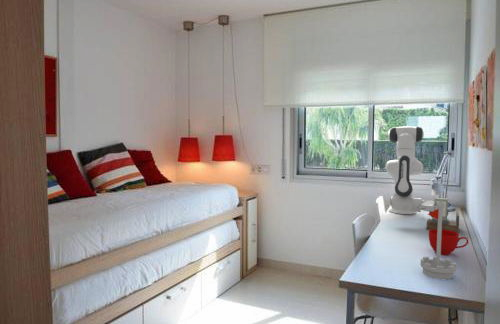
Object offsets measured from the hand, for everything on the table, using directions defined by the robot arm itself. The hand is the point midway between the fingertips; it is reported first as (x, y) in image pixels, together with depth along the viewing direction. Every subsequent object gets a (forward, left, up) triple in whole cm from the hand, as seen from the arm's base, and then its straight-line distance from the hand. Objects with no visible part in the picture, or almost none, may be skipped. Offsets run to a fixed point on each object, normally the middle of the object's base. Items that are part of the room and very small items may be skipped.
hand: (442, 206), depth 228 cm
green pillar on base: (0, -1, -9) cm, 10 cm away
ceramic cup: (+54, +2, -14) cm, 56 cm away
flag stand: (+87, -2, -14) cm, 88 cm away
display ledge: (0, 0, -13) cm, 14 cm away
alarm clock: (-20, -2, -14) cm, 24 cm away
